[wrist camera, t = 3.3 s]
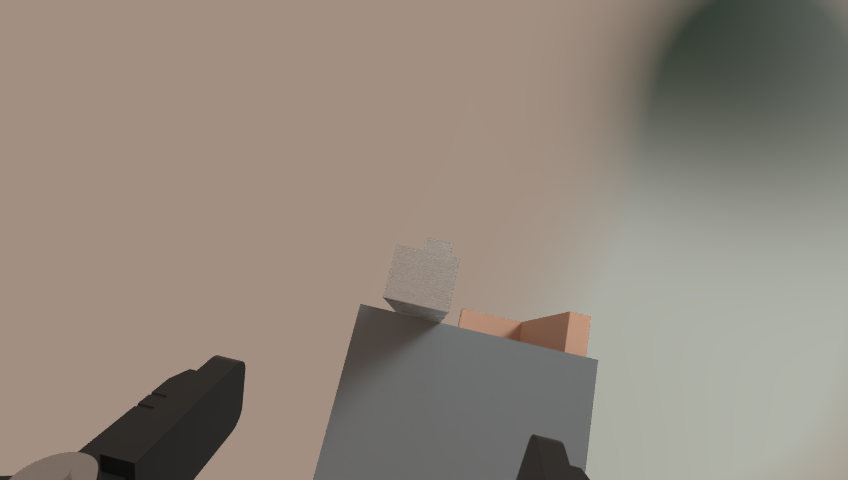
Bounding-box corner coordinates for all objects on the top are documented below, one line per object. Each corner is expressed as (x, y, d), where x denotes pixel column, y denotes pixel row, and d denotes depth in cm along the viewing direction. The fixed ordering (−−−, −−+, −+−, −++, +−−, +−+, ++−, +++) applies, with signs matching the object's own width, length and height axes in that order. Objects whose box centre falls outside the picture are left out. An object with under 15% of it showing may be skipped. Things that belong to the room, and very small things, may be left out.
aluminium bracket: (433, 330, 43) (452, 247, 45) (448, 312, 18) (488, 126, 20) (406, 324, 43) (426, 242, 45) (383, 297, 18) (430, 114, 20)
